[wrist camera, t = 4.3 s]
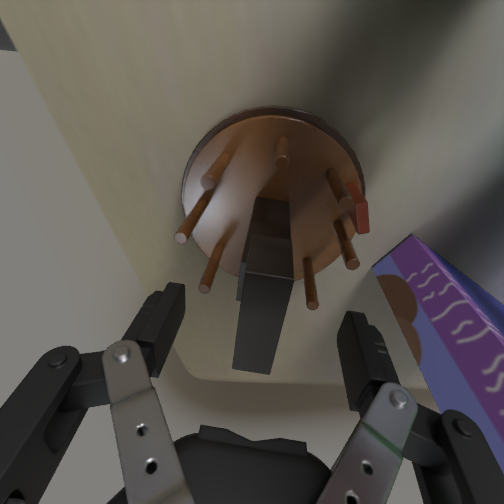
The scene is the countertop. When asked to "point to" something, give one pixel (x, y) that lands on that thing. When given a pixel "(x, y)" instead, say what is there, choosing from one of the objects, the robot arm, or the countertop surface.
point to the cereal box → (450, 334)
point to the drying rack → (271, 220)
